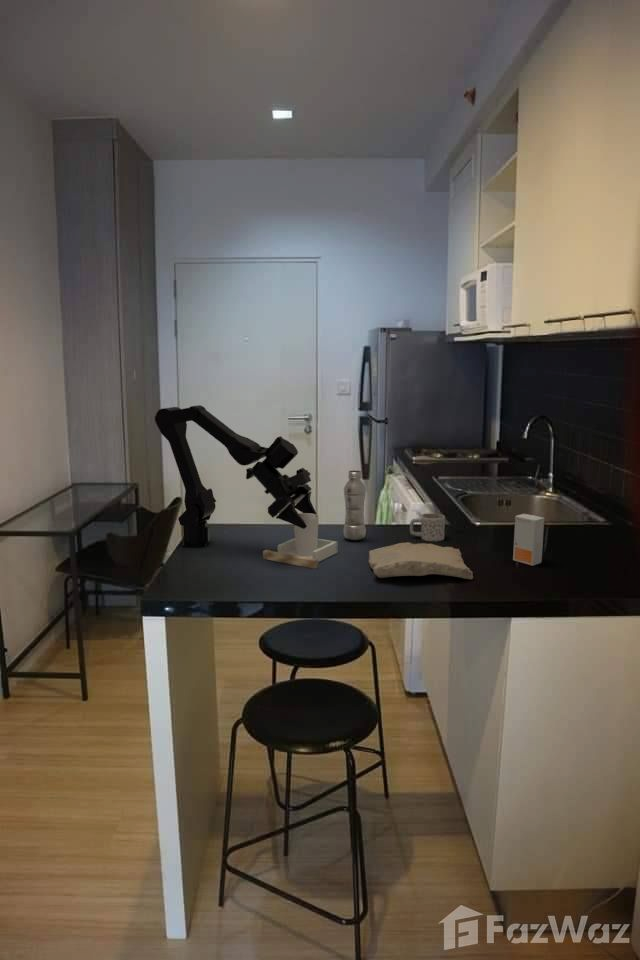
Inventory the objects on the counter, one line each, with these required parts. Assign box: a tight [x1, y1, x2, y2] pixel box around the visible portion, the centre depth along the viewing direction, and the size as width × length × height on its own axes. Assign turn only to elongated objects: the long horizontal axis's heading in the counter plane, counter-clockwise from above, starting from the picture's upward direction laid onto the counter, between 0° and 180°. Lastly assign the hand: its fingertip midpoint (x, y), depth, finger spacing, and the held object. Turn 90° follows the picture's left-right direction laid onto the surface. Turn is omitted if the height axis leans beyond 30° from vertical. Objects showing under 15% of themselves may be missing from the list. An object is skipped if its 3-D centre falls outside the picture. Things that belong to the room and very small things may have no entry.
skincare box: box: [512, 513, 545, 567], centre depth 170 cm, size 6×4×12 cm
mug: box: [409, 512, 446, 542], centre depth 193 cm, size 10×7×7 cm, turn 89°
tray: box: [277, 537, 339, 563], centre depth 178 cm, size 12×12×3 cm
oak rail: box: [262, 549, 319, 569], centre depth 171 cm, size 16×2×2 cm, turn 58°
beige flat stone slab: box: [367, 541, 474, 580], centre depth 164 cm, size 24×8×20 cm
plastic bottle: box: [343, 469, 367, 541], centre depth 191 cm, size 6×7×20 cm
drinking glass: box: [293, 512, 320, 556], centre depth 177 cm, size 7×7×10 cm
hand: (311, 523), depth 176 cm, fingers open, 9 cm apart
